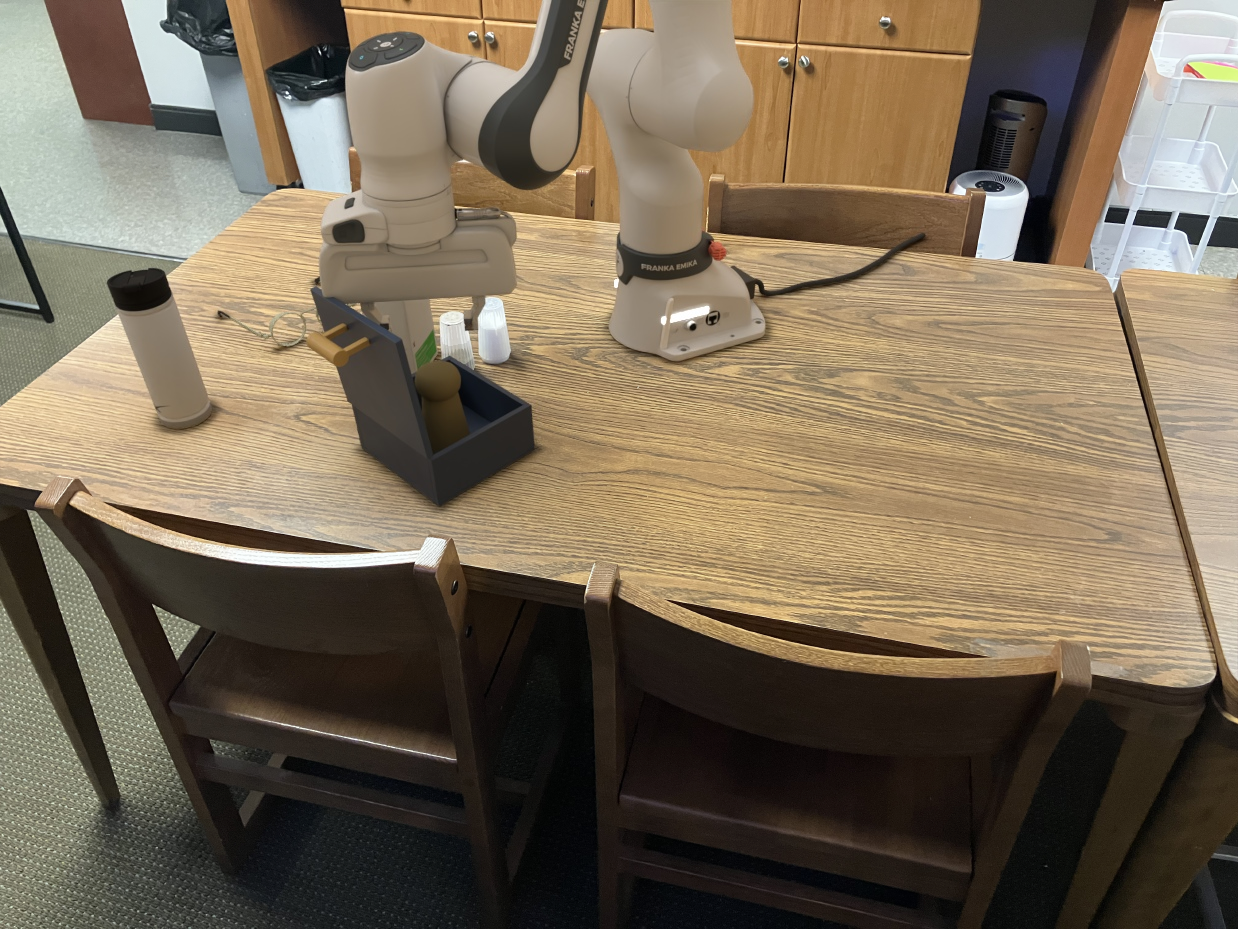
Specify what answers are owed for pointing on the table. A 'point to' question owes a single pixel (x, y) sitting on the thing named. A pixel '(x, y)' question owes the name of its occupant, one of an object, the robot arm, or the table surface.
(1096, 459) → the table surface
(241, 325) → the round eyeglasses
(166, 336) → the travel mug
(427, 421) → the brown pawn
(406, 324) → the cosmetic box
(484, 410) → the chest
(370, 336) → the lid
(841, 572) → the table surface
